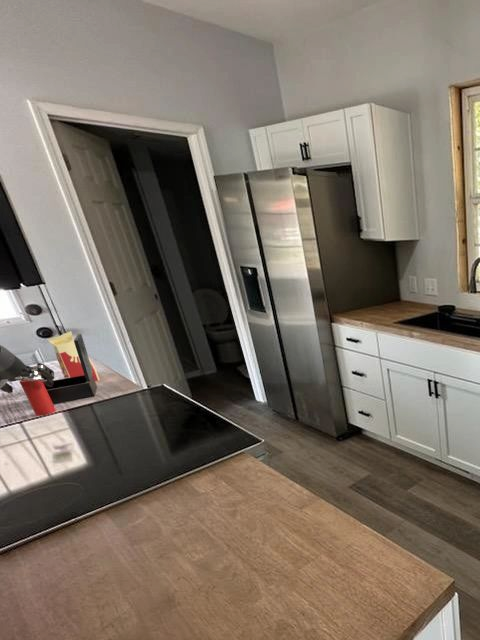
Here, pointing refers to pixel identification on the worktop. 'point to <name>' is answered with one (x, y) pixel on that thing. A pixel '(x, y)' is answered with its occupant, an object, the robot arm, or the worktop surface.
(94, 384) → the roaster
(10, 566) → the worktop surface
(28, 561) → the worktop surface
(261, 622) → the worktop surface
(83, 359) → the lid
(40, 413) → the red capped cylinder
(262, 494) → the worktop surface
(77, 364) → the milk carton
